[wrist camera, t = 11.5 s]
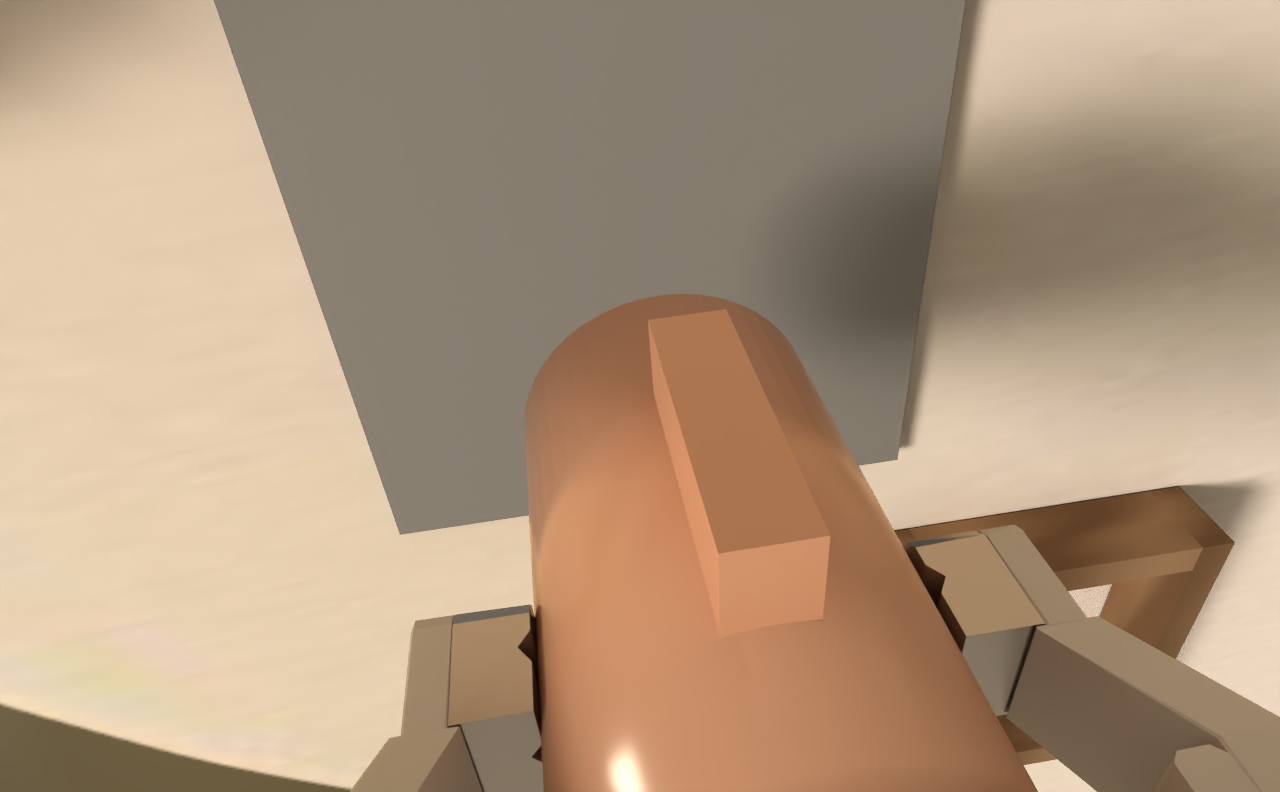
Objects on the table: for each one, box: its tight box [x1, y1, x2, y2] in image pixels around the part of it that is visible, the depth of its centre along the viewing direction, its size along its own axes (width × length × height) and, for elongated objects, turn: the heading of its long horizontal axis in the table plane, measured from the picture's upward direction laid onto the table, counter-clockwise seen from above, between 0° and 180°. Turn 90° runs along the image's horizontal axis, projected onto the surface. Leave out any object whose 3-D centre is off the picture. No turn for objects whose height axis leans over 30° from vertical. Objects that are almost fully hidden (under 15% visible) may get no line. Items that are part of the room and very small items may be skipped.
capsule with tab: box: [524, 294, 1038, 792], centre depth 11 cm, size 5×6×8 cm
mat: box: [214, 0, 966, 535], centre depth 19 cm, size 14×14×1 cm
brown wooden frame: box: [895, 487, 1235, 765], centre depth 29 cm, size 10×11×2 cm
